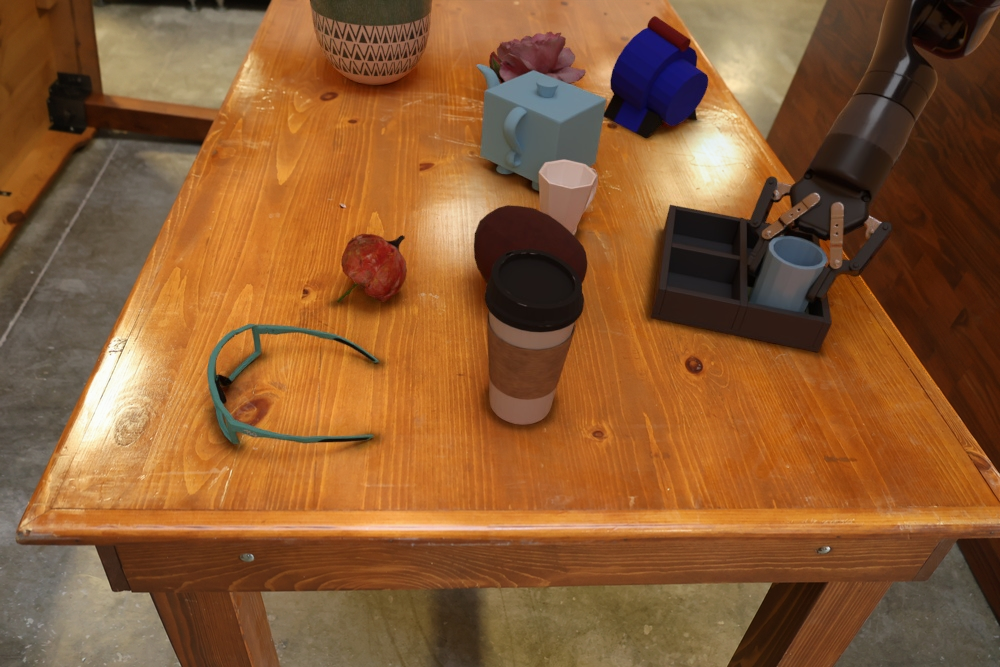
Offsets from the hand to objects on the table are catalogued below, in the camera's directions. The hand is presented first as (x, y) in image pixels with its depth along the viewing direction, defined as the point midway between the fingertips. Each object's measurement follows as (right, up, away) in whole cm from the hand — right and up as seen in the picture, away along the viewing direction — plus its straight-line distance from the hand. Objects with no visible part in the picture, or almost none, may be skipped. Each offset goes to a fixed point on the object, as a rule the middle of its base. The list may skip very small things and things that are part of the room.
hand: (780, 287), depth 82 cm
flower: (-24, +35, +45) cm, 62 cm away
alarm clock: (-5, +29, +41) cm, 51 cm away
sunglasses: (-49, -11, -11) cm, 51 cm away
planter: (-51, +37, +45) cm, 77 cm away
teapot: (-27, +19, +27) cm, 43 cm away
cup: (-22, +8, +15) cm, 28 cm away
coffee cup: (-28, -12, -9) cm, 31 cm away
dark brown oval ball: (-27, -1, +4) cm, 27 cm away
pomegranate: (-44, -1, +2) cm, 44 cm away
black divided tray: (-3, 0, +8) cm, 8 cm away
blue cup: (+1, -2, +4) cm, 5 cm away
